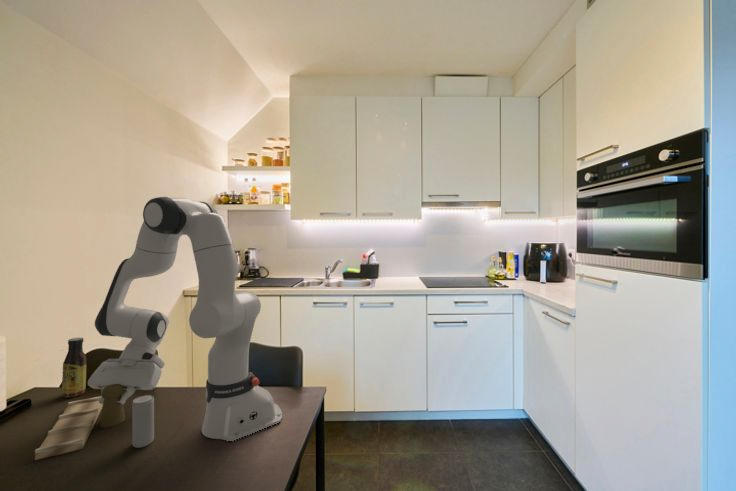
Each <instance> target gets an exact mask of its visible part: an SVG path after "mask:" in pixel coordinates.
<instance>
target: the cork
mask: <svg viewBox="0 0 736 491" xmlns="http://www.w3.org/2000/svg"><path fill="white" fill-rule="evenodd" d="M101 390H102V389H101ZM124 390H125V389H124V388H123V386H122V385H121V384H112V385H109V386H106V387H105V388H104V389H103V390H102V397H103V398H104V402H103V407H102V409H101V416H100V421H99V428H104V429H105V428H112V427H115V426H118V425H120V424H122V423H123V422H124V421H125V420H126V415H125V408H124V404H118V403H116V401H117V400H118V398H119V396H123V393H124Z"/></svg>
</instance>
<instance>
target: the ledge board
mask: <svg viewBox="0 0 736 491" xmlns="http://www.w3.org/2000/svg"><path fill="white" fill-rule="evenodd" d="M100 398H101V395H100V396H94V397H90V398H85V399H79V400H74V401H69V402H68V403H67V406H66V408H65V409H64V412H62V414H60V415H58V420H57V421H56V422H55V424H54V426H53V427H52V429H51V430H48V432H47V435H46V438H45V439H44V440H43V442H42V443H41V445H40V446H39V448H36V449H35V450H34V461H37V460H42V459H46V458H49V457H54V456H58V455H62V454H67V453H70V452H75V451H79V450H83V449H84V447H85V445H86V443H87V441H88V438H89V436H90V434H91V432H92V431H93V428H94V426H95V423H96V422H97V419H98V418H99V415H100V413H101V412H102V408H103V404H100V403H99V400H100Z"/></svg>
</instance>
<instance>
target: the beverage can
mask: <svg viewBox="0 0 736 491" xmlns="http://www.w3.org/2000/svg"><path fill="white" fill-rule="evenodd" d="M131 413H132V414H131V416H132V417H131V418H132V420H131V430H132V431H131V432H132V434H131V439H132V440H131V442H132V443H131V444H132V447H134V448H136V449H140V448H145V447H147V446H148V445H150V444H152V442H153V441H154V439H155V398H154V395H151V394H145V395H142V396H138V397H136V398H134V399H133V400H132V403H131Z"/></svg>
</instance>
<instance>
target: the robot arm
mask: <svg viewBox="0 0 736 491" xmlns="http://www.w3.org/2000/svg"><path fill="white" fill-rule="evenodd" d="M142 217H143V222H142V224H141V226H140V229H139V232H138V235H137V238H136V239H137V240H136V243H135V249H134V252H132V255H131V256H130V257H127V258H125V259H124V260H122V261H121V262H120V264H119V265H118V267H117V269H116V271H115V272H114V273H115V274H114V276H113V278H112V280H111V284H110V286H109V289H108V292H107V294H106V297H105V299H104V302H103V304H102V306H101V308H100V309H99V311H98V313H97V316H96V318H95V319H94V327H95V329H96V330H97V332H98V333H99V334H100V335H101V336H105V337H120V338H127V339H131V340H130V341H129V342H128V343H127V345H126V346H125V348H124V349H123V351H122V352H121V353H120V356H119V358H108V359H106V360H103V361H102V362H101V363H100V365H99V366H98V367H97V368H96V370H94V372H93V373H92V374H91V375H90V377H89V379H88V380H87V386H89V387H90V388H92V389H93V390H101V392H100V394H101V395H100V396H101V398H100V400H99V403H100V404H103V402H104V398H103V397H102V390H103V389H104V388H105V387H106V386H109V385H112V384H121V385H122V386H123V388H124V390H126V391H125V392H124V394H122V395H121V396H119V398H118V400H117V401H116V403H118V404H123V405H124V404H125V403H126V402H127V400H128V399H129V398H130V397H131V396H132V395H133V394H135V392H136V391H137V390H139V391H143V390H144V391H152V390H154V389H155V388H156V387H157V385H158V384H159V381H160V378H161V377H162V373H163V370H162V369H163V368H164V367H165V365H166V363H165V362H164V361H163V359H162V358H161V357H159V356H158V354H156V350H157V348H158V346H160V344H161V343H162V341H163V339H164V336H165V334H166V331H167V329H168V326H169V323H170V320H169V317H168V316H167V315H166V314H164V313H162V312H160V311H158V310H154V309H153V310H152V309H147V308H138V307H133V306H129V305H126V304H125V299H126V296H127V294H128V292H129V289H130V287H131V284H132V282H134V280H136V279H141V278H142V279H143V278H149V277H156V276H158V275H161V274H163V273H166V272H168V271H169V270H170V269H171V268H172V267H173V265H174V264H175V261H176V256H177V253H178V252H177V251H178V246H179V245H178V244H179V240H180V239H181V237H182V236H187V237H188V238H189V240H190V242H191V249H192V251H193V257H194V261H195V266H196V270H197V271H196V272H197V276H198V291H197V297H196V301H195V305H194V306H193V308H192V310H191V311H190V314H189V318H188V320H189V321H188V322H189V327H190V330H191V331H192V332H193V333H194V334H195V335H196V336H197V337H198V338H203V339H212V338H215V339H214V342H213V344H212V346H211V348H210V350H209V351H208V355H207V379H206V383H205V400H206V409H205V415H204V419H203V423H202V426H201V433H202V435H203V436H204V437H206V438H210V439H214V440H215V439H216V440H224V441H225V440H226V442H228V441H232V442H235V441H237V440H236V439H238V440H240V439H242V438H241V437H243V438H245V437H244V436H246V437H248V436H250V434H251V435H253V434H255V432H256V433H258V432H260V431H259V430H261V431H263V430H265V429H264V428H266V429H268V428H267V427H269V426H271V425H274V424H276V425H278V424H277V423H279V422H280V421H281V422H282V420H283V412H282V410H281V407H280V406H279V405H278V404H277V403H275V402H274V398H273V396H272V394H271V392H269V391H268V390H267V389H266V388H263V387H262V386H259V384H260V380H259V378H258V377H256V376H255V374H254V373H253V372H251V371H250V372H249V357H250V356H249V355H250V354H249V353H250V344H251V340H252V336H253V332H254V326H255V323H256V320H257V318H258V316H259V314H260V311H261V309H262V306H261V305H262V304H261V301H260V298H259V296H257V295H256V294H255V293H254V292H252V291H246V290H237V291H235V286H236V285H235V284H236V279H237V276H238V274H239V271H240V267H239V263H238V259H237V255H236V251H235V247H234V243H233V239H232V235H231V233H230V229H229V227H228V225H227V223H226V220H225V218H224V217H223V216H222V215H220V214H219V213H218V210H217V208H216V207H214V206H213V205H212V204H210V203H208V202H205V201H198V200H193V199H188V198H185V197H169V196H160V197H159V196H158V197H154V198H151V199H149V200H148V201H147V202H146V204H145V205H144V207H143V212H142ZM281 419H282V420H281ZM281 422H280V423H281ZM280 423H279V424H280ZM274 426H275V425H274ZM271 427H272V426H271ZM269 428H270V427H269ZM262 429H263V430H262ZM257 431H258V432H257ZM252 433H253V434H252ZM247 435H248V436H247ZM239 438H240V439H239ZM234 440H235V441H234Z"/></svg>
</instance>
